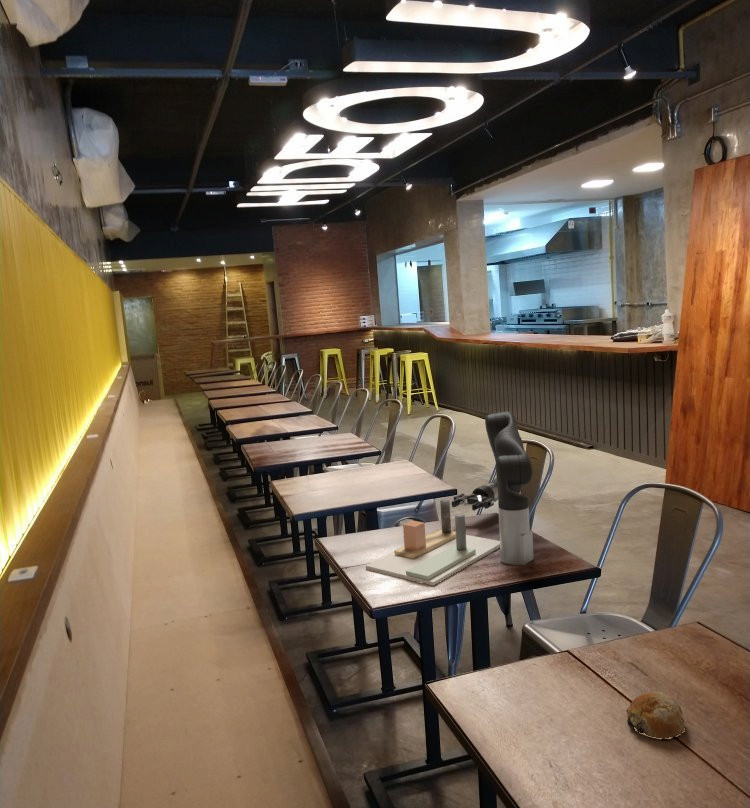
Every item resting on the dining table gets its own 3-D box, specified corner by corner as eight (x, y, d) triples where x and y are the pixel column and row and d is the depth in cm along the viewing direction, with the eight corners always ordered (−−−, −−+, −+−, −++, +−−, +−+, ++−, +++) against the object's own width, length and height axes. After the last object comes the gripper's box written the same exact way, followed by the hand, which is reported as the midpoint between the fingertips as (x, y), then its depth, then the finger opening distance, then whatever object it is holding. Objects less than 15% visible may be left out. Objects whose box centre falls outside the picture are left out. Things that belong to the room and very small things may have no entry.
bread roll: (681, 762, 127) (701, 725, 126) (626, 737, 128) (645, 700, 127) (668, 729, 137) (686, 695, 135) (617, 706, 138) (635, 672, 136)
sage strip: (475, 552, 225) (473, 515, 224) (427, 580, 206) (425, 539, 204) (454, 548, 230) (452, 512, 229) (406, 574, 211) (403, 535, 209)
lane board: (503, 545, 235) (503, 541, 235) (433, 586, 205) (433, 582, 204) (439, 533, 251) (439, 529, 251) (365, 569, 221) (365, 565, 221)
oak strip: (459, 535, 243) (457, 500, 242) (414, 558, 224) (411, 521, 222) (440, 531, 248) (438, 498, 247) (394, 554, 229) (392, 517, 227)
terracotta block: (425, 546, 231) (424, 522, 230) (416, 550, 227) (415, 526, 226) (413, 543, 234) (412, 520, 233) (404, 548, 230) (403, 524, 229)
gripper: (469, 483, 268) (445, 493, 256) (502, 487, 259) (479, 498, 247) (470, 502, 269) (446, 513, 257) (503, 507, 260) (480, 519, 248)
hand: (462, 506), depth 252 cm, fingers open, 8 cm apart
